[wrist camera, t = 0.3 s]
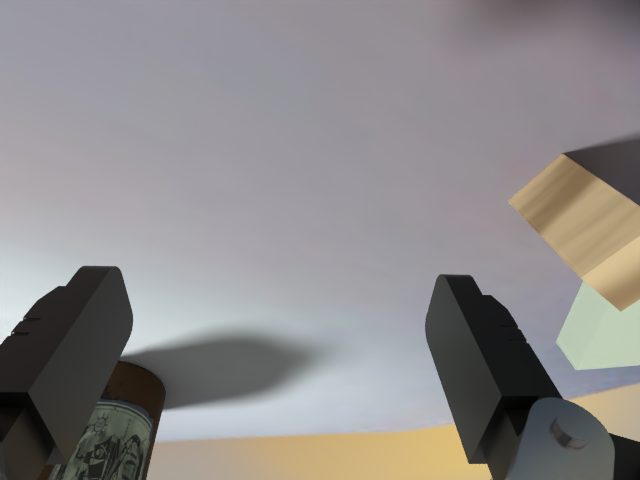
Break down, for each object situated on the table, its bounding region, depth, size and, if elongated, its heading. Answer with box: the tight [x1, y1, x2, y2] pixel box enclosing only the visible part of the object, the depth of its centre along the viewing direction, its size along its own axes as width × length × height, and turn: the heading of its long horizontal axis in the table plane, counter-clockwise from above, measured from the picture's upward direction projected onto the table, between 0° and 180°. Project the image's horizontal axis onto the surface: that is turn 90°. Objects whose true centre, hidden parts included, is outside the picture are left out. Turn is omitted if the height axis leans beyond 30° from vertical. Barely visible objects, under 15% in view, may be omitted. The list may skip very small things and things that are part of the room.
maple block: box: [508, 154, 640, 312], centre depth 28 cm, size 5×5×10 cm
